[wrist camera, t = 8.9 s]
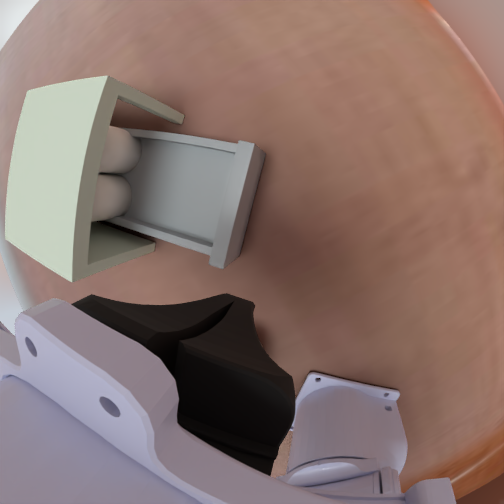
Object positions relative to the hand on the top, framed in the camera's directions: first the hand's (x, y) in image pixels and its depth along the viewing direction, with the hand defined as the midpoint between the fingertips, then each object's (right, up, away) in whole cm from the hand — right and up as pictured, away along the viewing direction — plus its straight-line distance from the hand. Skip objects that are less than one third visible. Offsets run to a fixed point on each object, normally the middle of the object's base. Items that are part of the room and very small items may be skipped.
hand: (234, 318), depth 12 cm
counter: (-11, +10, +11) cm, 18 cm away
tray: (-6, +8, +10) cm, 15 cm away
